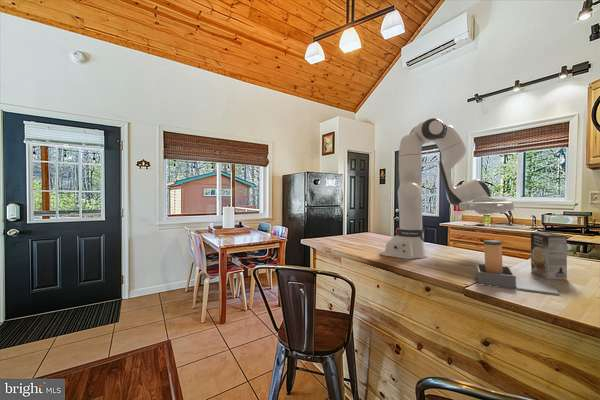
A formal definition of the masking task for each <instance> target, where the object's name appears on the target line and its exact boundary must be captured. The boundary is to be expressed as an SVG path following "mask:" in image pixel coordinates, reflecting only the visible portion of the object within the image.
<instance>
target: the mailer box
mask: <svg viewBox="0 0 600 400" xmlns="http://www.w3.org/2000/svg"><path fill="white" fill-rule="evenodd" d="M475 267H476V269H475V270H476V277H477V282H478V285H479V284H484V285H483V286H486V285H491V286H490V287H493V286H498V287H497V288H500V287H502V289H510V290H515V289H516V288H517V289H516V290H517V291H524V292H529V293H530V292H532V293H537V294H538V293H540V294H546V295H554V296H560V292H559V291H557V289H556V288H555V287H554V286H552V284H550V282H549V281H546V280H545V281H544V280H538V279H537V280H536V279H528V278H520V277H517V276H516V275H515V273H514V272H513V270H512V269H511V267H510V266H505V265H504V266H503V274H495V273H486V270H485V263H484V264H483V263H476V266H475Z"/></svg>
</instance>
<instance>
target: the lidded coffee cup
mask: <svg viewBox="0 0 600 400" xmlns="http://www.w3.org/2000/svg"><path fill="white" fill-rule="evenodd" d="M482 242H483V250H484V251H483V252H484V253H483V254H484V264H485V270H486V273H495V274H503V253H502V252H503V250H502V241H500V240H496V239H495V240H494V239H492V240H491V239H490V240H489V239H486V240H483V241H482Z"/></svg>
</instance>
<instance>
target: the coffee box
mask: <svg viewBox="0 0 600 400" xmlns="http://www.w3.org/2000/svg"><path fill="white" fill-rule="evenodd" d="M567 238H568V236H567V235H563V234H558V233H554V232H550V231H549V232H548V231H547V232H544V231H543V232H540V231H538V232H537V231H535V232H530V269H531V270H530V271H532V272H531V273H533V272H534V274H536V275H538V276H540V277H543V278H545V279H547V280H568V256H567V255H568V249H567V248H568V244H567V242H568V239H567Z"/></svg>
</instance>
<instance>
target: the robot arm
mask: <svg viewBox="0 0 600 400" xmlns="http://www.w3.org/2000/svg"><path fill="white" fill-rule="evenodd" d="M431 142H433V143H435V145H436V146H437V148H438V150H439V152H440V154H441V159H440V161H439V162H438V163H439V164H438V166H439V170H440V175H441V178H442V182H443V184H444V188H445V192H446V199H447V201H448V203H449V204H450V205H453V206H457V207H459V210H460V211H475V212H476V213H477V214H479V215H482V216H483V215H485V216H486V215H490V214H495V213H507V212H512V211H514V209H515V208H514V206H515V205H514V201H512V200H508V199H507V198H496V197H491V191H490V188H489V187H488V185H487V183H486V182H485V181H484V180H481V179H479V178H474V179H471V180H469V181H467V182H465V183H462V184H459V185H457V186H454V184H453V180H452V176H451V172H452V169H453V168H454V167H455V166H456V165H457V164H458V163H459V162H460V161H462V159H463V158H464V157H465V155H466V153H467V147H466V145H465V143H464V140H463V139H462V137H461V136H460V134H459V132H458V131H457V130H456V128H455V127H454V126H452V125H446V124H445V123H444V121H442V120H441V119H439V118H436V117H433V118H428V119H426V120H425V121H421V122H420V123H418V124H417V125H416V126H414V127H413V128H412V129H411V131H410V132H409V134H408V135H407V134H406V135H404V136H403V137H402V138H401V139H400V143H399V146H398V147H399V149H398V176H399V177H398V179H399V187H398V189H397V204H398V213H399V215H398V216H399V227H397V228H396V230H395V235H394V236H393V237H391V239H389V240H387V242H386V243H385V248H384V249H383V250H381V251H380V255H382V256H386V257H392V258H400V259H407V260H413V259H423V258H426V257H427V253H426V250H425V246H424V245H425V244H424V240H425V239H424V238H425V237H424V236H425V234H424V229H423V209H422V208H423V206H422V205H423V203H422V193H423V192H422V191H423V190H422V189H423V188H422V187H423V186H422V185H423V183H422V181H423V180H422V178H423V177H422V173H423V172H422V167H423V166H422V160H423V159H422V158H423V157H422V156H423V155H422V153H423V152H422V148H423V146H424V144H429V143H431Z"/></svg>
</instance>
